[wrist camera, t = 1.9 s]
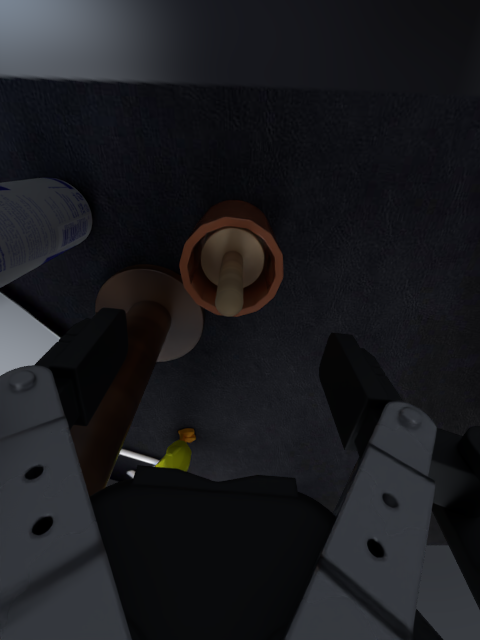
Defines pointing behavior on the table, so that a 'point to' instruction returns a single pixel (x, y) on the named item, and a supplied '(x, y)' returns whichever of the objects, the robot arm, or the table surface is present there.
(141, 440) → the table surface
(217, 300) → the beige plunger
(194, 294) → the holder
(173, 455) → the toy figure
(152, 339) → the brown pedestal stand
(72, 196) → the beverage can
